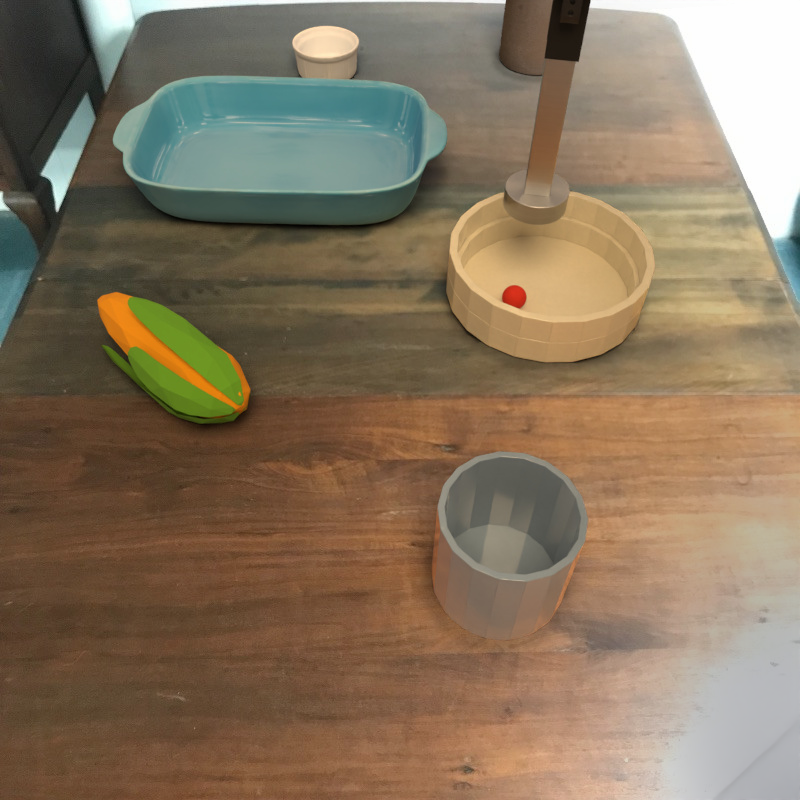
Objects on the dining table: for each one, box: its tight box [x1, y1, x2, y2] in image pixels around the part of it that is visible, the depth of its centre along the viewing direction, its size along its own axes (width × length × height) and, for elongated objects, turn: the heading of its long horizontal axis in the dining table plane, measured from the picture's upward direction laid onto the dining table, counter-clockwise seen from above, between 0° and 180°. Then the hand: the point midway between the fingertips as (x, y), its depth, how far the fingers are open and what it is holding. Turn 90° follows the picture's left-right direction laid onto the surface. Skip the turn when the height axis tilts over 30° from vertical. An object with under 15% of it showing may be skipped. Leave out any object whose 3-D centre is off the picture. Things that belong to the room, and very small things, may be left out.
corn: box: [96, 291, 252, 425], centre depth 71 cm, size 7×8×20 cm
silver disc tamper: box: [503, 59, 576, 225], centre depth 66 cm, size 6×6×24 cm
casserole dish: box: [112, 75, 448, 226], centre depth 90 cm, size 37×22×7 cm, turn 87°
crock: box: [431, 450, 589, 641], centre depth 57 cm, size 10×10×10 cm
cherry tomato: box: [502, 285, 527, 309], centre depth 78 cm, size 2×2×2 cm
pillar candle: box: [498, 0, 553, 76], centre depth 106 cm, size 10×10×15 cm
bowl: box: [445, 190, 656, 363], centre depth 79 cm, size 20×20×6 cm
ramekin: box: [291, 25, 360, 79], centre depth 107 cm, size 9×9×4 cm
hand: (562, 47), depth 64 cm, fingers closed on silver disc tamper, 2 cm apart
